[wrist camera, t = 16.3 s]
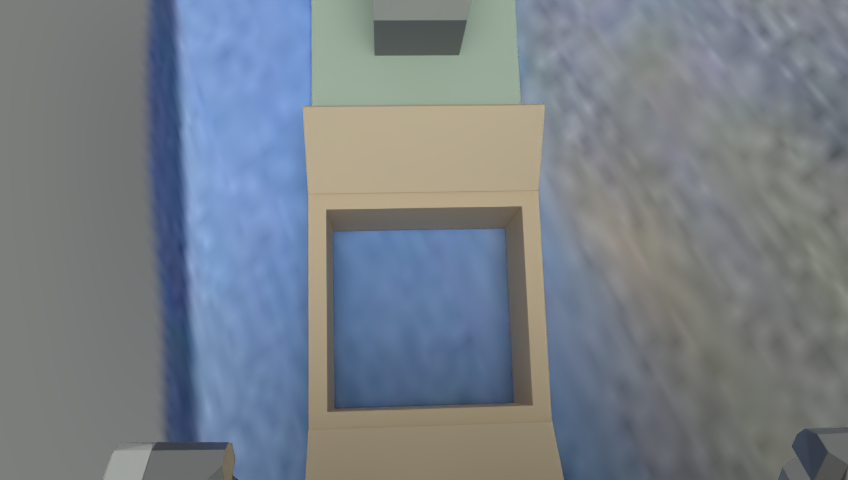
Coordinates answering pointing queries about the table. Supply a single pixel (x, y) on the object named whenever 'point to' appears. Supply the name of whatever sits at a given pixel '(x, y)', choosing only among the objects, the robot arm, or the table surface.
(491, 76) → the pad
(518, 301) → the carton
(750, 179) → the table surface
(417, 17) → the box
